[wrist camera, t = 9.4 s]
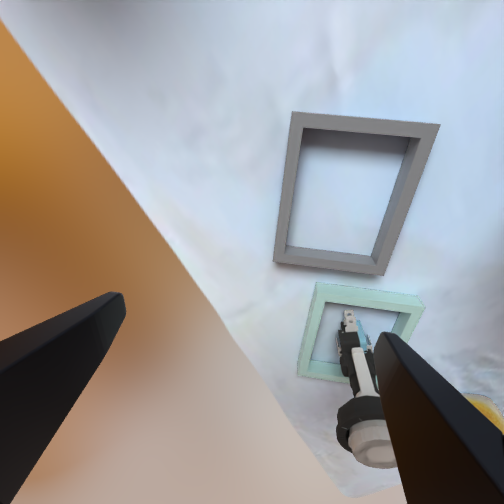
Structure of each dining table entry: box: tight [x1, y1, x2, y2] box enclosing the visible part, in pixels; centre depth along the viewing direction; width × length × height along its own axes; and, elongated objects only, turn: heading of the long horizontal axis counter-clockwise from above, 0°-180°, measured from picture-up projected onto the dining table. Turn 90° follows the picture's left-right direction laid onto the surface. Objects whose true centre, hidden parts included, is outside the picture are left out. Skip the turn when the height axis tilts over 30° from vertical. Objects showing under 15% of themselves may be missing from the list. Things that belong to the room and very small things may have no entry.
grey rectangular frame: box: [273, 111, 441, 276], centre depth 19 cm, size 9×11×2 cm
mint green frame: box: [297, 282, 425, 387], centre depth 25 cm, size 9×11×2 cm
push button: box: [336, 310, 398, 469], centre depth 21 cm, size 7×5×10 cm
